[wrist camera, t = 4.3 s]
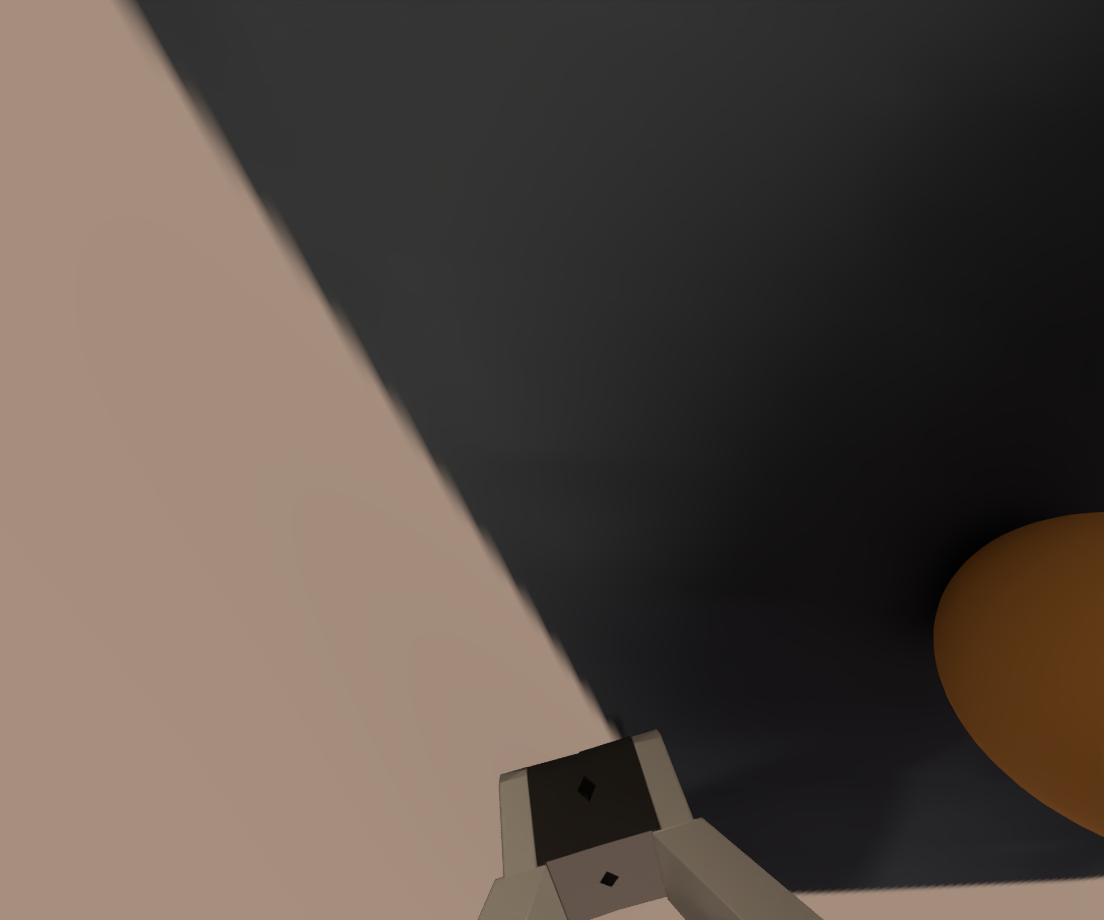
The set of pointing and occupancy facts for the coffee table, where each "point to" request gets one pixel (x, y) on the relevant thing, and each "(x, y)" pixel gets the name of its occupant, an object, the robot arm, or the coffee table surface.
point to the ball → (1033, 659)
